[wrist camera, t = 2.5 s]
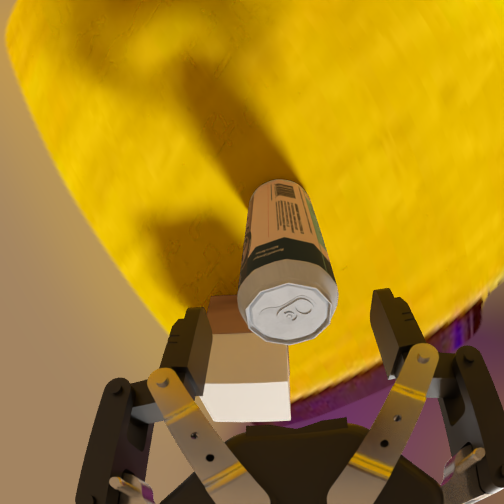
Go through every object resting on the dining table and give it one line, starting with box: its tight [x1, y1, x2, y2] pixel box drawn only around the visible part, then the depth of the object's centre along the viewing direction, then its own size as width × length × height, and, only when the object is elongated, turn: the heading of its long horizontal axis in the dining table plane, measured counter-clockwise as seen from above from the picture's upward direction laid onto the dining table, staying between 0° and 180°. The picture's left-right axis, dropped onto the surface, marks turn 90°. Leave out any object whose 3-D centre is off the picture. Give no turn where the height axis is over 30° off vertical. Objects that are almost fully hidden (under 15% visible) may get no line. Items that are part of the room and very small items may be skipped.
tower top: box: [200, 333, 291, 422], centre depth 24 cm, size 7×7×5 cm
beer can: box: [237, 179, 338, 345], centre depth 18 cm, size 5×5×12 cm
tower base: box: [207, 294, 290, 376], centre depth 28 cm, size 7×7×5 cm
